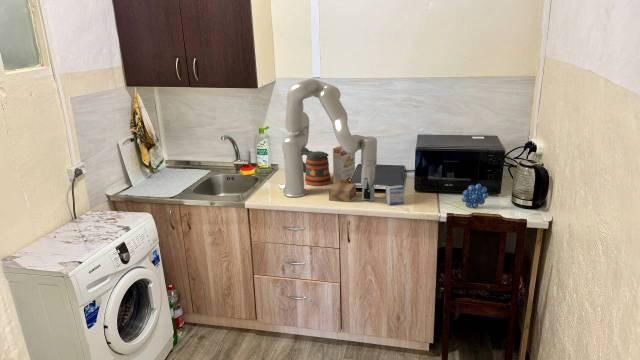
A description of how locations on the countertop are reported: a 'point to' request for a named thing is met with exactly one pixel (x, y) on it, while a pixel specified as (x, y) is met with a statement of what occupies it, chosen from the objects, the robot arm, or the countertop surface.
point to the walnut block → (342, 192)
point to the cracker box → (342, 165)
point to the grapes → (475, 195)
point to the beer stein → (316, 168)
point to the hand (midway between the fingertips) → (368, 196)
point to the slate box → (370, 192)
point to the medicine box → (394, 195)
